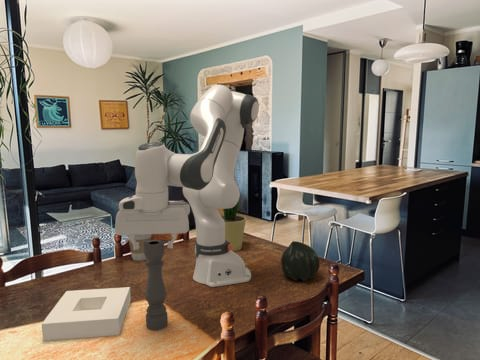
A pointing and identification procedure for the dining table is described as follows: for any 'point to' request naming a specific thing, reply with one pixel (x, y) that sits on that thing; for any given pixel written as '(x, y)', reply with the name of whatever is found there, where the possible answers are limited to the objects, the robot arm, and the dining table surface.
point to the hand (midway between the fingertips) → (153, 248)
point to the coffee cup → (139, 254)
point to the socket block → (87, 314)
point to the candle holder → (155, 286)
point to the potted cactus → (234, 227)
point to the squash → (299, 261)
